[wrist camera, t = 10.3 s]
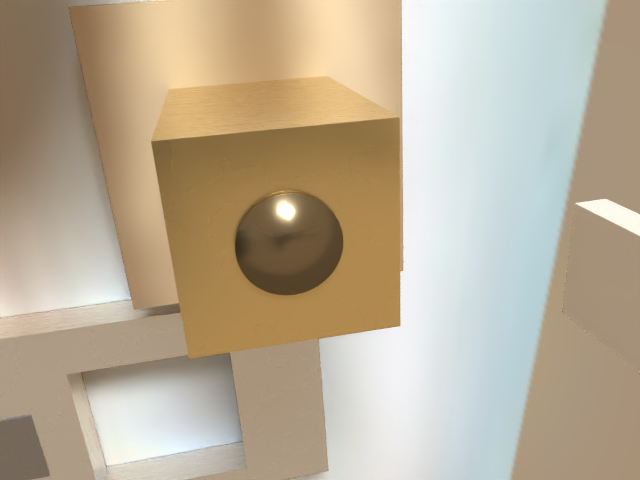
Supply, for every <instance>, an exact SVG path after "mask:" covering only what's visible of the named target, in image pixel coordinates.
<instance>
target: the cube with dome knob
mask: <svg viewBox="0 0 640 480" xmlns="http://www.w3.org/2000/svg"><path fill="white" fill-rule="evenodd" d="M151 145H152V150H153V156H154V162H155V168H156V173H157V179H158V185H159V191H160V196H161V202H162V208H163V214H164V219H165V225H166V231H167V237H168V242H169V248H170V254H171V260H172V265H173V271H174V277H175V283H176V288H177V294H178V300H179V306H180V311H181V317H182V323H183V329H184V334H185V340H186V346H187V352H188V357H189V359H191V358H197V357H204V356H210V355H217V354H223V353H230V352H236V351H242V350H249V349H255V348H262V347H268V346H275V345H281V344H288V343H294V342H300V341H307V340H313V339H320V338H326V337H333V336H339V335H346V334H352V333H358V332H365V331H371V330H378V329H384V328H391V327H397V326H400V117H399V116H397V115H395V114H393V113H391V112H390V111H388V110H386V109H384V108H383V107H381V106H379V105H377V104H376V103H374V102H372V101H370V100H368V99H367V98H365V97H363V96H361V95H360V94H358V93H356V92H354V91H353V90H351V89H349V88H347V87H345V86H344V85H342V84H340V83H338V82H337V81H335V80H333V79H331V78H330V77H328V76H318V77H307V78H295V79H283V80H271V81H259V82H247V83H235V84H223V85H211V86H199V87H187V88H175V89H169V92H168V94H167V97H166V100H165V103H164V106H163V109H162V111H161V114H160V117H159V120H158V123H157V126H156V128H155V131H154V134H153V137H152V140H151Z"/></svg>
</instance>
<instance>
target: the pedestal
mask: <svg viewBox="0 0 640 480" xmlns="http://www.w3.org/2000/svg"><path fill="white" fill-rule="evenodd" d="M68 8H69V13H70V18H71V22H72V27H73V32H74V36H75V41H76V45H77V50H78V55H79V59H80V64H81V68H82V73H83V78H84V82H85V87H86V92H87V96H88V101H89V105H90V110H91V115H92V119H93V124H94V128H95V133H96V138H97V142H98V147H99V152H100V156H101V161H102V165H103V170H104V175H105V179H106V184H107V188H108V193H109V198H110V202H111V207H112V212H113V216H114V221H115V225H116V230H117V235H118V239H119V244H120V248H121V253H122V258H123V262H124V267H125V272H126V276H127V281H128V285H129V290H130V295H131V299H132V304H133V308H134V310H136V309H143V308H150V307H157V306H164V305H171V304H177V303H179V300H178V294H177V288H176V283H175V277H174V271H173V265H172V260H171V254H170V248H169V242H168V237H167V231H166V225H165V219H164V214H163V208H162V202H161V196H160V191H159V185H158V179H157V173H156V168H155V162H154V156H153V150H152V145H151V140H152V137H153V134H154V131H155V128H156V126H157V123H158V120H159V117H160V114H161V111H162V109H163V106H164V103H165V100H166V97H167V94H168V92H169V89H175V88H187V87H199V86H211V85H223V84H235V83H247V82H259V81H271V80H283V79H295V78H307V77H318V76H328V77H330V78H331V79H333V80H335V81H337V82H338V83H340V84H342V85H344V86H345V87H347V88H349V89H351V90H353V91H354V92H356V93H358V94H360V95H361V96H363V97H365V98H367V99H368V100H370V101H372V102H374V103H376V104H377V105H379V106H381V107H383V108H384V109H386V110H388V111H390V112H391V113H393V114H395V115H397V116H399V117H400V271H403V159H402V6H401V0H165V1H150V2H135V3H120V4H105V5H90V6H75V7H68Z"/></svg>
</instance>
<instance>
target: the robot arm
mask: <svg viewBox="0 0 640 480" xmlns="http://www.w3.org/2000/svg"><path fill="white" fill-rule="evenodd" d="M562 312H563V313H564V314H565V315H566V316H567V317H569V318H570V319H571V320H572V321H574V322H575V323H576V324H577V325H579V326H580V327H581V328H582V329H584V330H585V331H586V332H587V333H589V334H590V335H591V336H592V337H594V338H595V339H596V340H597V341H599V342H600V343H601V344H602V345H603V346H605V347H606V348H607V349H609V350H610V351H611V352H612V353H613V354H615V355H616V356H617V357H618V358H620V359H621V360H622V361H623V362H625V363H626V364H627V365H628V366H630V367H631V368H632V369H633V370H635V371H636V372H637V373H638V374H640V214H638V213H636V212H633V211H631V210H629V209H627V208H624V207H622V206H620V205H618V204H616V203H614V202H611V201H609V200H607V199H601V200H595V201H587V202H581V203H575V206H574V214H573V223H572V231H571V240H570V248H569V256H568V265H567V273H566V282H565V291H564V299H563V308H562Z"/></svg>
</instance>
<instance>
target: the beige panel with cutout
mask: <svg viewBox="0 0 640 480" xmlns="http://www.w3.org/2000/svg"><path fill="white" fill-rule="evenodd" d="M186 355H188V352H187V346H186V340H185V334H184V329H183V323H182V317H181V311H180V306H179V303H177V304H171V305H164V306H157V307H150V308H143V309H136V310H134V308H133V304H132V300H125V301H118V302H111V303H104V304H97V305H90V306H83V307H76V308H69V309H62V310H55V311H48V312H41V313H34V314H27V315H20V316H13V317H6V318H0V480H285V479H290V478H295V477H300V476H305V475H310V474H315V473H320V472H325V471H328V460H327V447H326V433H325V420H324V406H323V393H322V379H321V366H320V353H319V339H313V340H307V341H300V342H294V343H288V344H281V345H275V346H268V347H262V348H255V349H249V350H242V351H236V352H230V357H231V363H232V370H233V377H234V384H235V391H236V398H237V404H238V411H239V418H240V425H241V432H242V438H243V442H238V443H233V444H227V445H222V446H216V447H211V448H206V449H200V450H195V451H189V452H184V453H178V454H173V455H168V456H162V457H157V458H151V459H146V460H140V461H135V462H129V463H124V464H119V465H113V466H108V467H106V464H105V460H104V456H103V453H102V449H101V445H100V442H99V438H98V434H97V431H96V427H95V423H94V420H93V416H92V412H91V408H90V405H89V401H88V397H87V394H86V390H85V386H84V383H83V379H82V375H81V372H85V371H92V370H98V369H104V368H110V367H117V366H123V365H129V364H136V363H142V362H148V361H154V360H161V359H167V358H173V357H180V356H186Z"/></svg>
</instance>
